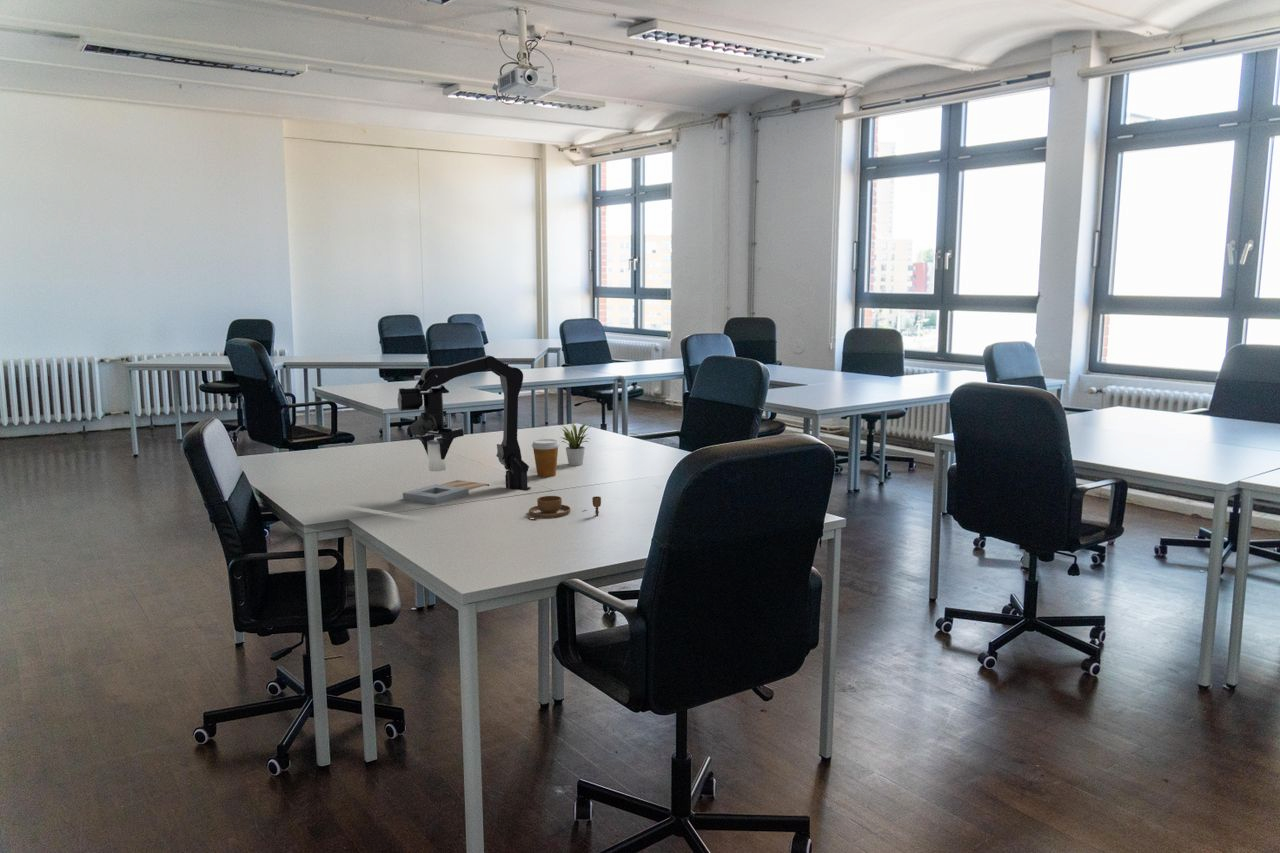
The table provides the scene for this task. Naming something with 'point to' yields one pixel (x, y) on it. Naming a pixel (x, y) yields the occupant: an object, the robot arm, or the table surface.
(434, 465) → the cylinder
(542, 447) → the disposable coffee cup
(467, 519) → the table surface
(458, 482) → the walnut board
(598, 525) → the table surface
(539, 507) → the place setting
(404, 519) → the table surface
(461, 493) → the frame
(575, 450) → the house plant
